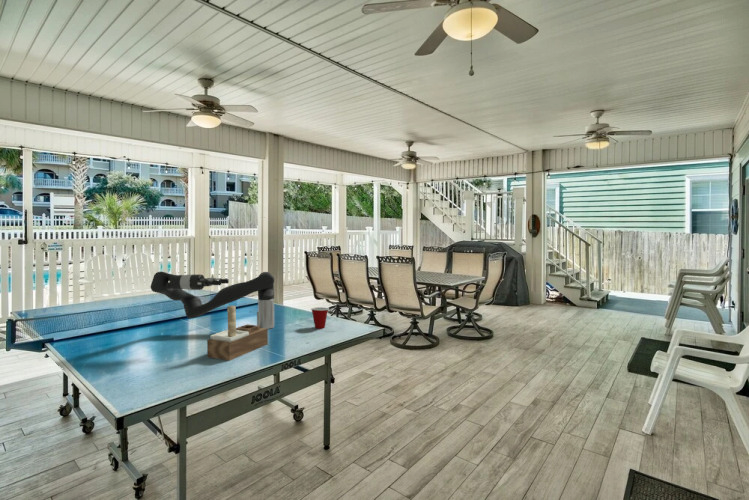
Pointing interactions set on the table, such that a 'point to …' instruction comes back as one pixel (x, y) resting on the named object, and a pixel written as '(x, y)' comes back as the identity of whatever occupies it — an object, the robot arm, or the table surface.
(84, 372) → the table surface
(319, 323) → the plastic cup
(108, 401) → the table surface
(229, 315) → the dowel
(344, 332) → the table surface
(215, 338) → the tray
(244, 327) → the wooden block with recesses
